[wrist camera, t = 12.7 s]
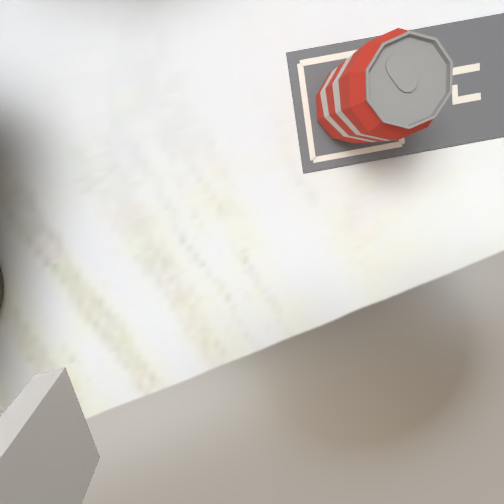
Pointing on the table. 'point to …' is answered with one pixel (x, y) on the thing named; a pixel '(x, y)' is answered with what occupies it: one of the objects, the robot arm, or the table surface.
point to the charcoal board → (442, 127)
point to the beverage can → (386, 89)
